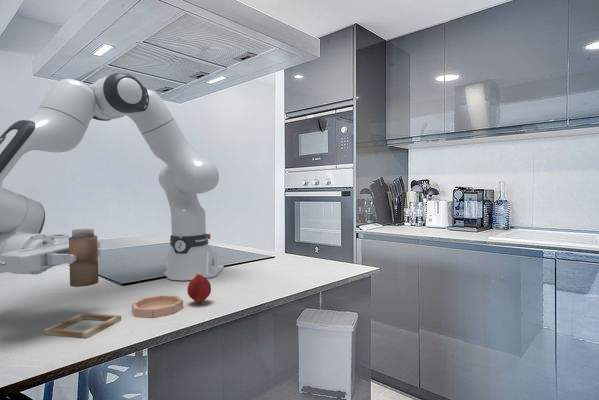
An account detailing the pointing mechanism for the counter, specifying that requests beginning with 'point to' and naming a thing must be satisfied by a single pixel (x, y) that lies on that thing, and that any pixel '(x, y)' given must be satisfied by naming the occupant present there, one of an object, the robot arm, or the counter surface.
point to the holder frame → (58, 330)
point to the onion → (199, 288)
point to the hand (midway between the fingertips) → (87, 255)
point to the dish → (157, 306)
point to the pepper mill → (84, 258)
